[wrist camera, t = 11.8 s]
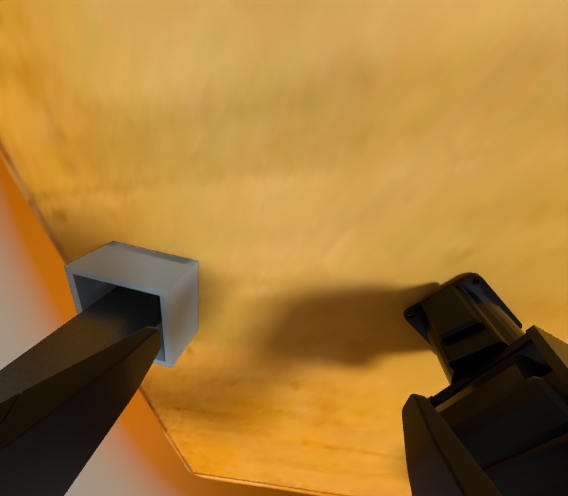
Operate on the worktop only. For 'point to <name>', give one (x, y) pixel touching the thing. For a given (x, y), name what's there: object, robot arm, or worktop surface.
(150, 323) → the dark square pedestal
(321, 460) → the worktop surface
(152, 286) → the box
